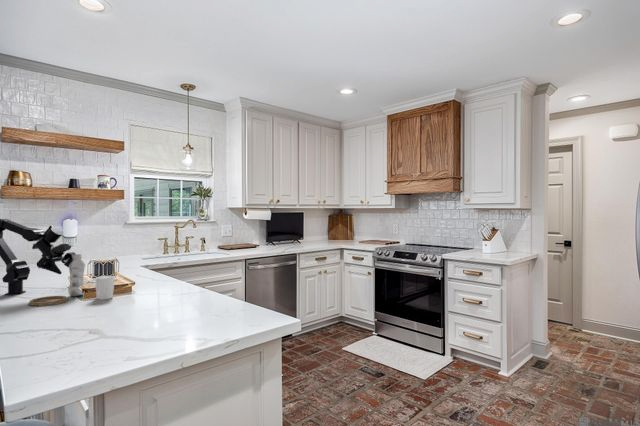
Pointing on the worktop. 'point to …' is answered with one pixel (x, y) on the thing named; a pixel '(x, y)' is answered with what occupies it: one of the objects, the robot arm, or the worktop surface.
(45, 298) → the brown round plate
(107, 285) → the white cup
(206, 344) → the worktop surface
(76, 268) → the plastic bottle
